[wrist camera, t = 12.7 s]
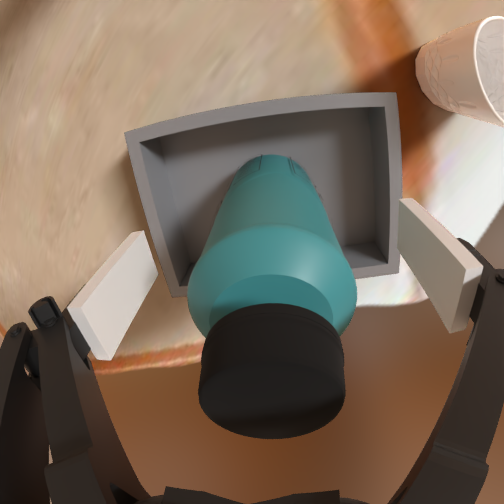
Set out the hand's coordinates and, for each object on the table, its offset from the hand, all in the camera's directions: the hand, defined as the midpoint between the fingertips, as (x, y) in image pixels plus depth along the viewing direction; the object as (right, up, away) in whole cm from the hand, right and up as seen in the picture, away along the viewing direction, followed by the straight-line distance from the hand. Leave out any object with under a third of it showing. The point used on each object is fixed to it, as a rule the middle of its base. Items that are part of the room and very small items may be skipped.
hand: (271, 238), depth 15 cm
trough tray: (+1, +5, +11) cm, 12 cm away
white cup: (+16, +15, +4) cm, 22 cm away
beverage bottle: (+1, +5, +10) cm, 11 cm away
